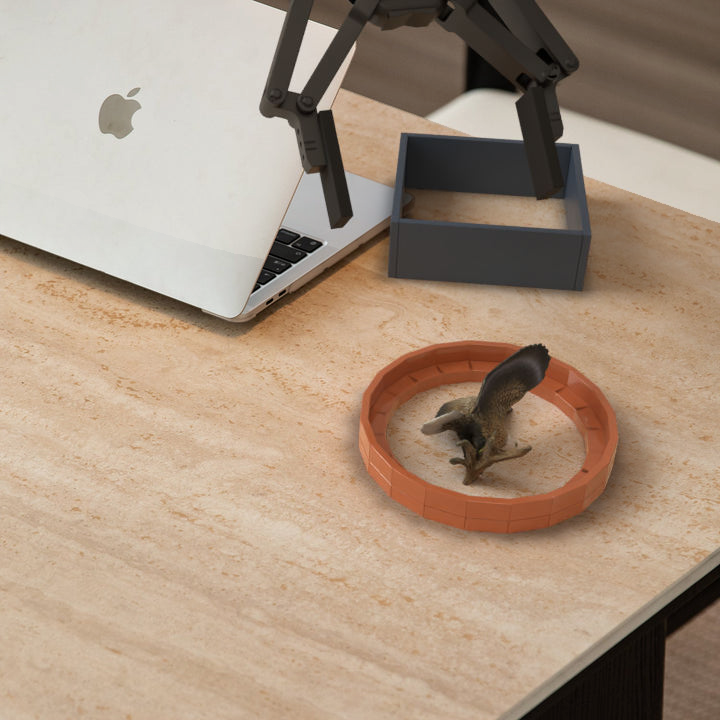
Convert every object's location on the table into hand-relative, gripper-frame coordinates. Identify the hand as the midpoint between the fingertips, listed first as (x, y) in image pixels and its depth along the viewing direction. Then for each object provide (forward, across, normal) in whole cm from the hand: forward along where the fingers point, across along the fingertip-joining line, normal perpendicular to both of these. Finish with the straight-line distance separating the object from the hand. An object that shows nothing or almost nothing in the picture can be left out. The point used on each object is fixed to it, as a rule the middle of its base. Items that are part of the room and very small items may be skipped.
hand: (449, 208), depth 75 cm
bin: (-1, -10, -19) cm, 22 cm away
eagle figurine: (+15, 0, -3) cm, 15 cm away
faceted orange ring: (+15, 0, -3) cm, 15 cm away
